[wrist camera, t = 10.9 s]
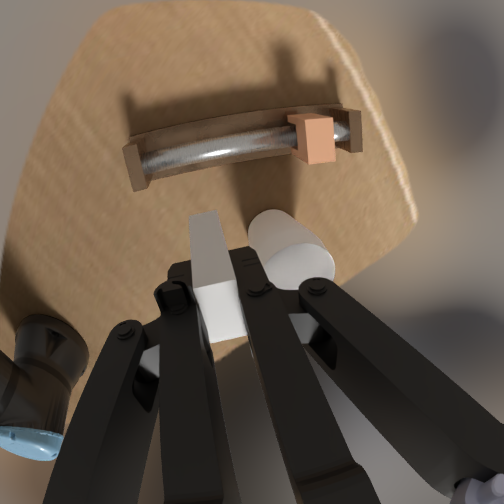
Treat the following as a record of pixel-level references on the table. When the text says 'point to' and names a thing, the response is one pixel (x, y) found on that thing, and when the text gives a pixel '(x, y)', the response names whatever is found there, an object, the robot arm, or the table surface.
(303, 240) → the cup
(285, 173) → the table surface
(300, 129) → the tan block
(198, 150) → the wooden rod stand
